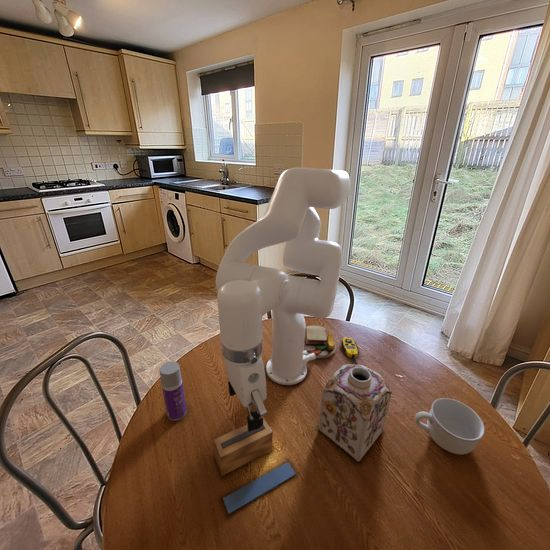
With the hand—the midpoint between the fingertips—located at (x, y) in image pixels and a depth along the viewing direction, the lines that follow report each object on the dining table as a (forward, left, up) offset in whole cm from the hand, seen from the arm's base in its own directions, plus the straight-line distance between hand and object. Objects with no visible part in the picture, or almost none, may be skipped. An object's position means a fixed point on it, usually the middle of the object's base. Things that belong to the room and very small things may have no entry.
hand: (245, 409), depth 61 cm
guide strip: (+1, +9, -13) cm, 15 cm away
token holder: (+1, +1, -13) cm, 13 cm away
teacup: (-42, +20, -13) cm, 48 cm away
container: (+12, -17, -13) cm, 24 cm away
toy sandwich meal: (-36, -22, -13) cm, 44 cm away
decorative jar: (-24, +8, -13) cm, 29 cm away
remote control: (-44, -13, -13) cm, 48 cm away
